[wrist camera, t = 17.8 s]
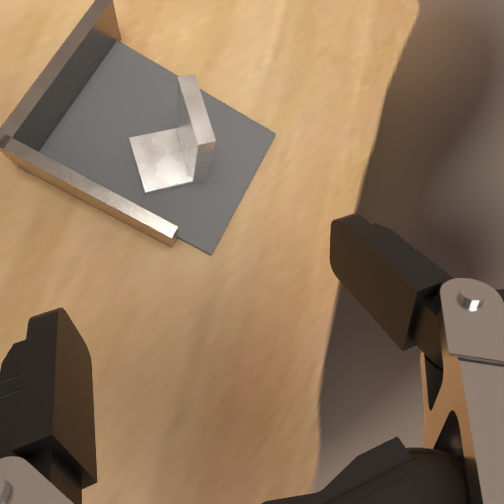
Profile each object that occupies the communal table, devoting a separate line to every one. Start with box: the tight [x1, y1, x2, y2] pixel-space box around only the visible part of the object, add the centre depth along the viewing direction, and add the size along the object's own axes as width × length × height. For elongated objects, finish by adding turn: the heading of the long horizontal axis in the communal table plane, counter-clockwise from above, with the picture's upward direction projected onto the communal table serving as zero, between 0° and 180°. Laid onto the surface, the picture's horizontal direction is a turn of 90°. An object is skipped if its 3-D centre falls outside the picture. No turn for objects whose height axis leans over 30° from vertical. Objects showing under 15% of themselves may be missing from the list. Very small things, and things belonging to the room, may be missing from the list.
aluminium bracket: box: [129, 74, 216, 195], centre depth 35 cm, size 6×6×10 cm
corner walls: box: [0, 0, 178, 247], centre depth 37 cm, size 17×18×6 cm
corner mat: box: [39, 40, 276, 255], centre depth 40 cm, size 20×16×1 cm
